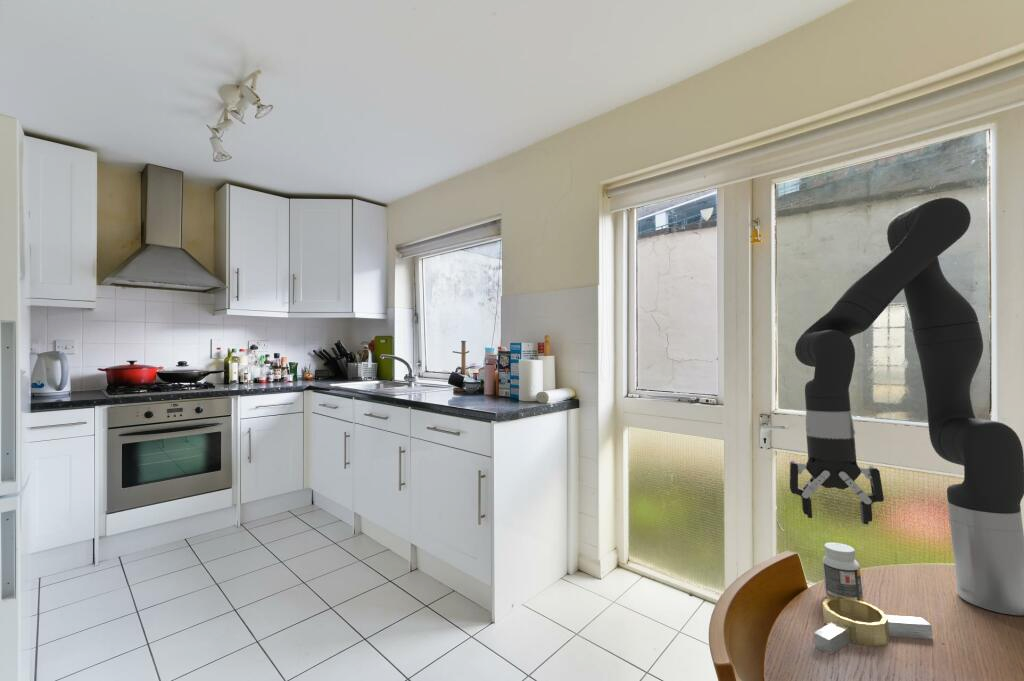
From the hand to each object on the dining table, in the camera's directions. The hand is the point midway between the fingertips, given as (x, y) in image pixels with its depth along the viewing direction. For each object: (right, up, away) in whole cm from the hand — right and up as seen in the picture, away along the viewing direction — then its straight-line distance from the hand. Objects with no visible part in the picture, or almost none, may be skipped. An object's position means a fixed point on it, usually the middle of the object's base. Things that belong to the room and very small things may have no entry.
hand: (836, 519), depth 82 cm
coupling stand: (-4, -14, -10) cm, 18 cm away
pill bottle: (+1, -15, -1) cm, 15 cm away
